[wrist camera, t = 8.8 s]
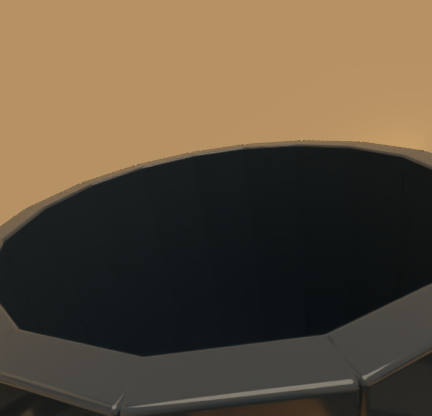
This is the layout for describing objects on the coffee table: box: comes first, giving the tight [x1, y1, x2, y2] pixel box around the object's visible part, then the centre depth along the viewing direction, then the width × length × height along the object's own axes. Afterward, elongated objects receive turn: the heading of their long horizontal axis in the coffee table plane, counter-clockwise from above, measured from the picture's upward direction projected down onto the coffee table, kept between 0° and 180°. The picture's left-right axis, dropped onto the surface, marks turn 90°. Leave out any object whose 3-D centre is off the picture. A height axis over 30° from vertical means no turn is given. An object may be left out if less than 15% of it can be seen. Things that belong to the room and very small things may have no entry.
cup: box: [0, 140, 432, 416], centre depth 8 cm, size 8×8×11 cm
